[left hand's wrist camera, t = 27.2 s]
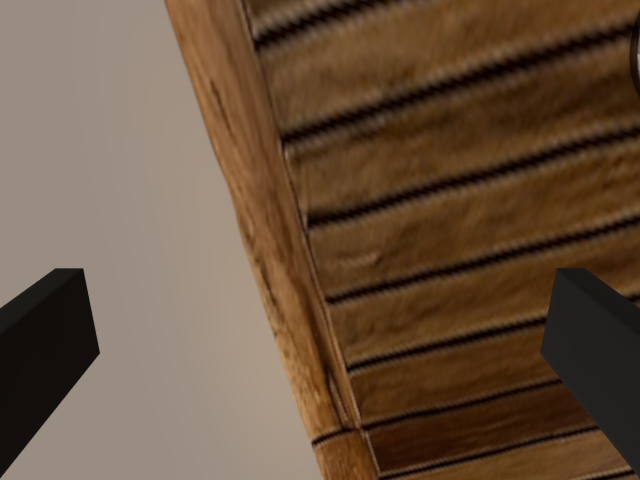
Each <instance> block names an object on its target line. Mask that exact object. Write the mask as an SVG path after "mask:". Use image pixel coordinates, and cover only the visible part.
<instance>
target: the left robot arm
mask: <svg viewBox="0 0 640 480" xmlns="http://www.w3.org/2000/svg"><path fill="white" fill-rule="evenodd" d="M630 70H631V76H632V79H633V83H634V86H635V88H636V91H637V93H638V95H639V97H640V13H639V15H638V18H637V20H636V23H635V26H634V30H633V34H632V39H631V45H630ZM99 354H100V351H99V346H98V341H97V336H96V331H95V326H94V321H93V316H92V311H91V306H90V301H89V295H88V290H87V285H86V280H85V275H84V270H83V268H55V269H54V270H53V271H51V272H50V273H48V274H47V275H46V276H44V277H43V278H42V279H40V280H39V281H37V282H36V283H35V284H33V285H32V286H30V287H29V288H28V289H26V290H25V291H24V292H22V293H21V294H19V295H18V296H17V297H15V298H14V299H12V300H11V301H10V302H8V303H7V304H6V305H4V306H3V307H1V308H0V478H1V477H2V475H3V474H4V473H5V472H6V470H7V469H8V468H9V467H10V465H11V464H12V463H13V462H14V460H15V459H16V458H17V457H18V455H19V454H20V453H21V452H22V450H23V449H24V448H25V447H26V445H27V444H28V443H29V441H30V440H31V439H32V438H33V437H34V435H35V434H36V433H37V432H38V430H39V429H40V428H41V427H42V425H43V424H44V423H45V421H46V420H47V419H48V418H49V417H50V415H51V414H52V413H53V412H54V410H55V409H56V408H57V406H58V405H59V404H60V403H61V401H62V400H63V399H64V398H65V396H66V395H67V394H68V393H69V391H70V390H71V389H72V388H73V386H74V385H75V384H76V383H77V381H78V380H79V379H80V378H81V376H82V375H83V374H84V373H85V371H86V370H87V369H88V368H89V366H90V365H91V364H92V363H93V361H94V360H95V359H96V358H97V356H98V355H99ZM540 354H541V355H542V356H543V358H544V359H545V360H546V361H547V363H548V364H549V365H550V366H551V368H552V369H553V370H554V371H555V373H556V374H557V375H558V376H559V378H560V379H561V380H562V381H563V383H564V384H565V385H566V386H567V388H568V389H569V390H570V391H571V393H572V394H573V395H574V396H575V398H576V399H577V400H578V401H579V403H580V404H581V405H582V406H583V408H584V409H585V410H586V412H587V413H588V414H589V415H590V417H591V418H592V419H593V420H594V422H595V423H596V424H597V425H598V427H599V428H600V429H601V430H602V432H603V433H604V434H605V435H606V437H607V438H608V439H609V440H610V442H611V443H612V444H613V445H614V447H615V448H616V449H617V450H618V452H619V453H620V454H621V455H622V457H623V458H624V459H625V460H626V462H627V463H628V464H629V465H630V467H631V468H632V469H633V470H634V472H635V473H636V474H637V475H638V477H639V478H640V308H639V307H637V306H636V305H634V304H633V303H632V302H630V301H629V300H628V299H626V298H625V297H623V296H622V295H621V294H619V293H618V292H616V291H615V290H614V289H612V288H611V287H610V286H608V285H607V284H605V283H604V282H603V281H601V280H600V279H598V278H597V277H596V276H594V275H593V274H592V273H590V272H589V271H587V270H586V269H585V268H557V270H556V275H555V280H554V285H553V290H552V295H551V301H550V306H549V311H548V316H547V321H546V326H545V331H544V336H543V341H542V346H541V351H540Z"/></svg>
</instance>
